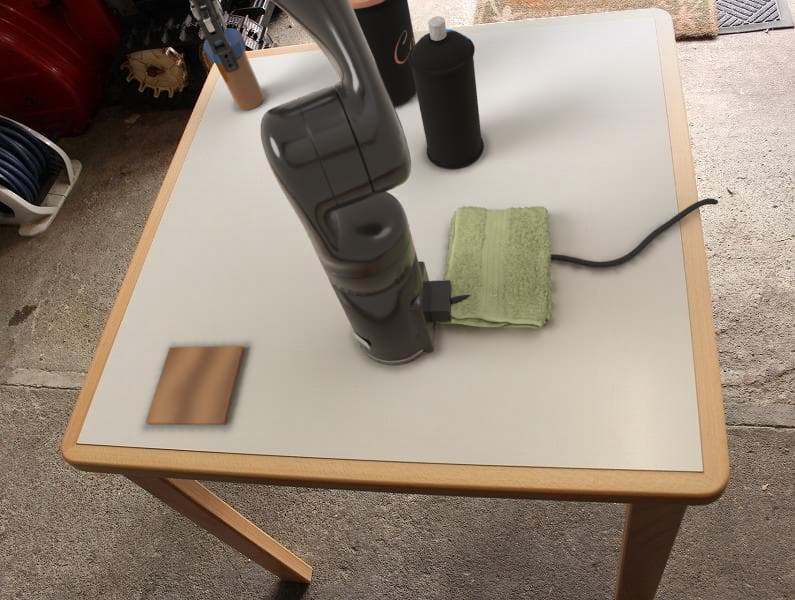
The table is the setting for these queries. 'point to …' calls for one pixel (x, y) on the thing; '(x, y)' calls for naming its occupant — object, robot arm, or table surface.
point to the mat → (196, 386)
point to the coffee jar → (389, 43)
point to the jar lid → (236, 45)
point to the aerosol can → (447, 95)
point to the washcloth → (500, 267)
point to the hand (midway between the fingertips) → (230, 58)
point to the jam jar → (243, 84)
